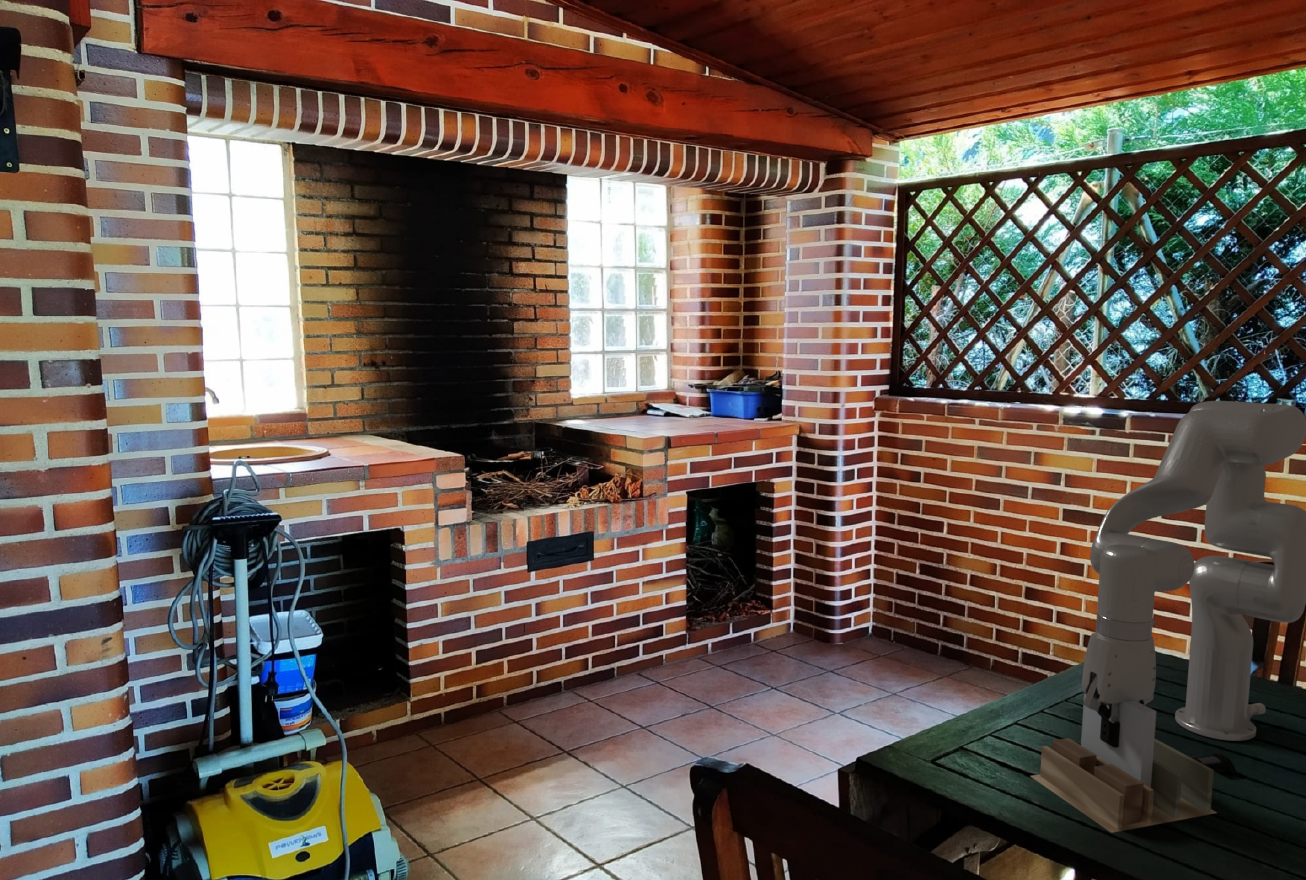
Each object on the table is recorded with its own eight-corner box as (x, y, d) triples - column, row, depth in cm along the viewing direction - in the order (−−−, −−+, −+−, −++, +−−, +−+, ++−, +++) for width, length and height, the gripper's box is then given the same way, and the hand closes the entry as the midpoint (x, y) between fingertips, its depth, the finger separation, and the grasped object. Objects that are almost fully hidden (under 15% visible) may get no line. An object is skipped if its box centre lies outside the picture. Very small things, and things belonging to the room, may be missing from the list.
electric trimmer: (1141, 777, 148) (1142, 759, 147) (1218, 765, 151) (1219, 747, 151) (1159, 789, 144) (1160, 770, 144) (1237, 776, 148) (1239, 757, 147)
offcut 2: (1109, 801, 136) (1111, 764, 135) (1140, 822, 130) (1143, 783, 130) (1091, 804, 135) (1094, 766, 135) (1122, 825, 130) (1125, 786, 129)
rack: (1126, 768, 150) (1129, 722, 149) (1216, 822, 133) (1220, 771, 132) (1029, 784, 144) (1032, 737, 143) (1111, 842, 128) (1114, 789, 127)
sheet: (1089, 769, 146) (1095, 680, 144) (1149, 807, 135) (1156, 711, 133) (1079, 771, 145) (1084, 682, 144) (1138, 809, 134) (1145, 712, 132)
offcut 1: (1066, 773, 145) (1068, 738, 144) (1094, 792, 139) (1096, 755, 138) (1049, 776, 144) (1051, 740, 143) (1077, 795, 138) (1079, 757, 137)
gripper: (1146, 615, 143) (1138, 726, 145) (1062, 624, 138) (1055, 738, 140) (1186, 630, 135) (1177, 747, 138) (1099, 640, 131) (1091, 760, 133)
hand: (1116, 741), depth 139 cm, fingers closed on sheet, 1 cm apart
